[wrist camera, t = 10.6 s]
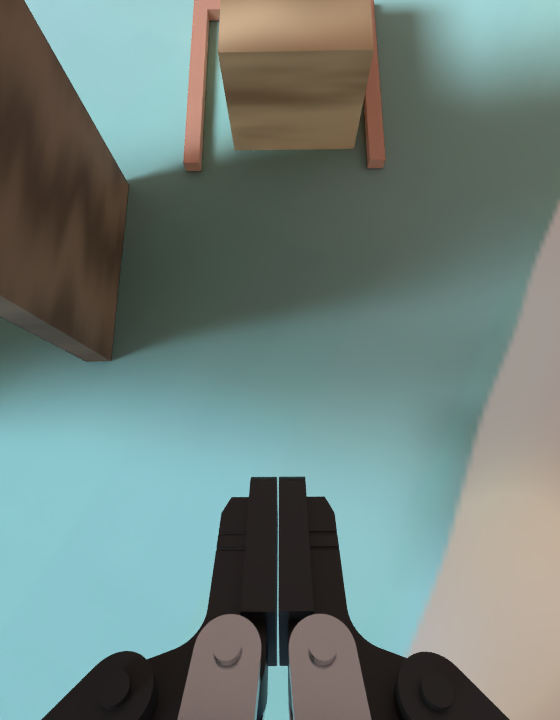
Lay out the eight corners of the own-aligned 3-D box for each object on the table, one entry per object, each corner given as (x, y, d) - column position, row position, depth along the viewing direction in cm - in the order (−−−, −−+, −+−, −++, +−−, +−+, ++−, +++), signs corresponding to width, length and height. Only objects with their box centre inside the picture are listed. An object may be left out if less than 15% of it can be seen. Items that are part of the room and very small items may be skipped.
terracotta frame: (382, 168, 28) (385, 159, 27) (186, 171, 28) (183, 162, 27) (371, 6, 31) (373, -6, 30) (196, 10, 31) (194, -1, 31)
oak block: (353, 150, 28) (373, 49, 21) (235, 151, 28) (217, 52, 22) (347, 35, 31) (364, -88, 24) (239, 37, 31) (225, -85, 24)
